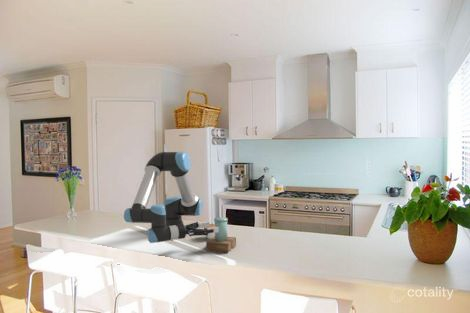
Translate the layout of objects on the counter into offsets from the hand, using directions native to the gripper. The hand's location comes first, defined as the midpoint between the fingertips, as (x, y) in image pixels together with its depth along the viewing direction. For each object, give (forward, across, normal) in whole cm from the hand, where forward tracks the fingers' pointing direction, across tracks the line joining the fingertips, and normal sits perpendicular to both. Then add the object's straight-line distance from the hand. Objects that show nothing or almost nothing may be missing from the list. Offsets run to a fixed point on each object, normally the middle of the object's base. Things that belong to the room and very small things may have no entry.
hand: (213, 226), depth 195 cm
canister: (+4, 0, -8) cm, 9 cm away
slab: (+4, 0, -13) cm, 14 cm away
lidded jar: (+8, -21, -13) cm, 26 cm away
